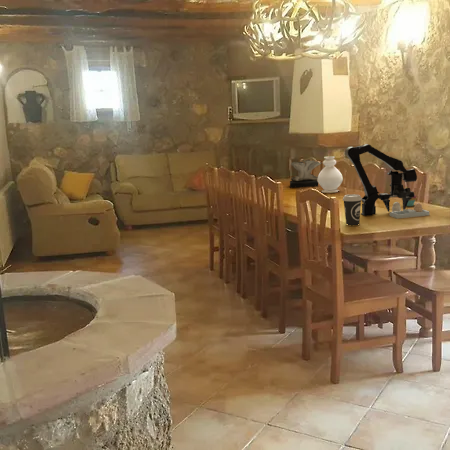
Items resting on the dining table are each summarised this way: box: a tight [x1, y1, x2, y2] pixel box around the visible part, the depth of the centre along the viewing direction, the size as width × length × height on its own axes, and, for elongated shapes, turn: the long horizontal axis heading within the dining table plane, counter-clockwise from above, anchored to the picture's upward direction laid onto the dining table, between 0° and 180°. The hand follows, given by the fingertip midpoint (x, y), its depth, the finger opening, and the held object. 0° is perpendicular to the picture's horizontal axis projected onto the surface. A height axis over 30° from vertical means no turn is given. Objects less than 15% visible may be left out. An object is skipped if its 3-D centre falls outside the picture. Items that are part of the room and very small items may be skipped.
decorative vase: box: [317, 155, 344, 194], centre depth 383 cm, size 18×18×25 cm
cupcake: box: [401, 186, 418, 207], centre depth 312 cm, size 9×8×12 cm
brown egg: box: [413, 202, 424, 212], centre depth 282 cm, size 5×5×6 cm
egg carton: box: [389, 208, 430, 219], centre depth 282 cm, size 18×8×3 cm, turn 101°
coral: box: [289, 159, 322, 189], centre depth 417 cm, size 25×20×22 cm
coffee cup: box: [342, 193, 363, 226], centre depth 270 cm, size 10×10×15 cm
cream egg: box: [391, 201, 402, 212], centre depth 293 cm, size 5×5×6 cm
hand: (396, 210), depth 293 cm, fingers open, 9 cm apart
